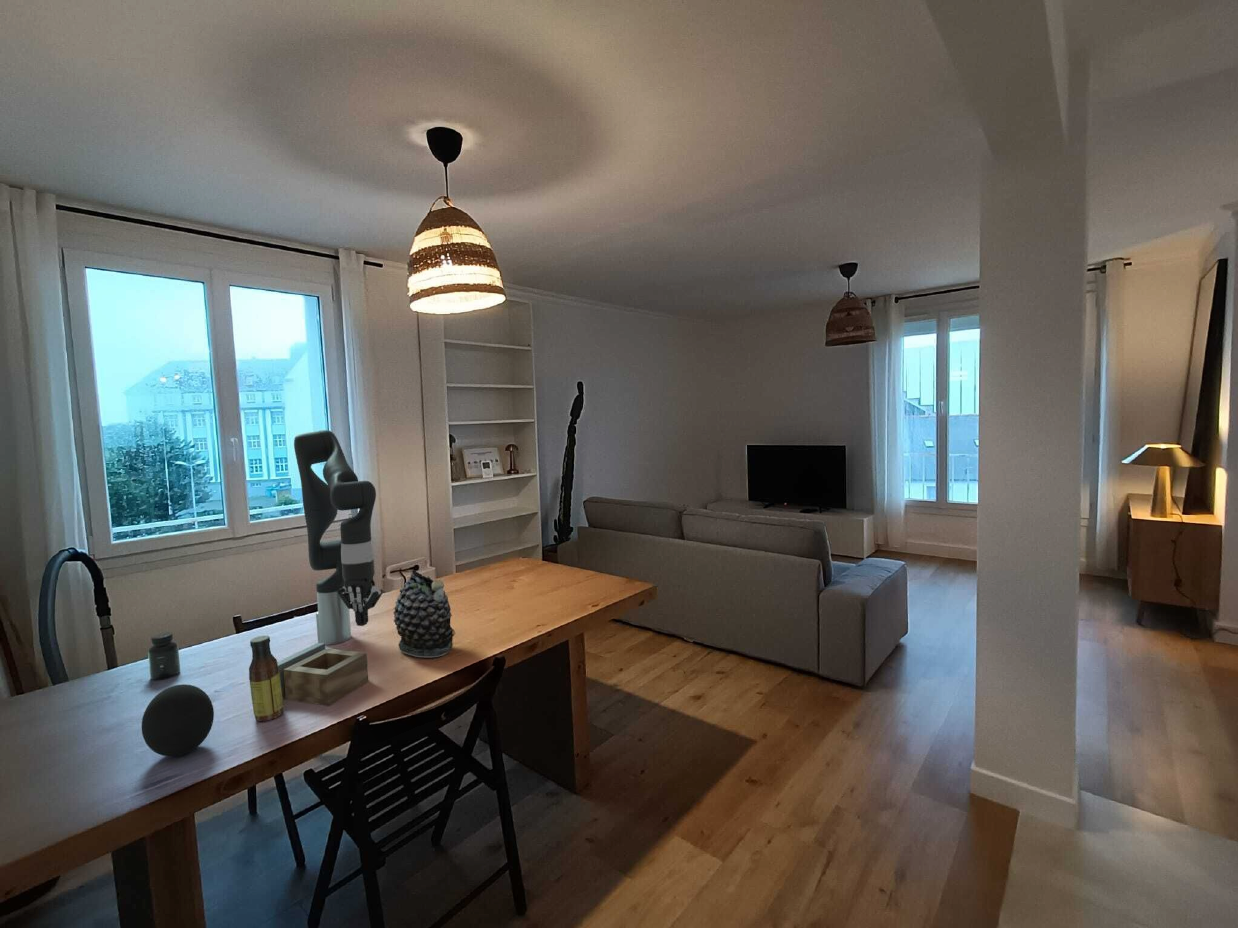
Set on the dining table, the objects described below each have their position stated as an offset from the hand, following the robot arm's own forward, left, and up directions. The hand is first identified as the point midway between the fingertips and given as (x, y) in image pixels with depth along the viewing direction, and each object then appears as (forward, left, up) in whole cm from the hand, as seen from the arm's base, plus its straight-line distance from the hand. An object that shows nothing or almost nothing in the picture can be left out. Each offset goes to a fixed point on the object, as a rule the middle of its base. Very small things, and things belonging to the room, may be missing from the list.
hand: (362, 624), depth 145 cm
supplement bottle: (-68, -4, -19) cm, 71 cm away
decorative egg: (-21, -32, -19) cm, 43 cm away
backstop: (-22, 0, -19) cm, 30 cm away
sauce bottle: (-16, -15, -19) cm, 29 cm away
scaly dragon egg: (-3, +29, -19) cm, 35 cm away
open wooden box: (-13, 0, -19) cm, 23 cm away
